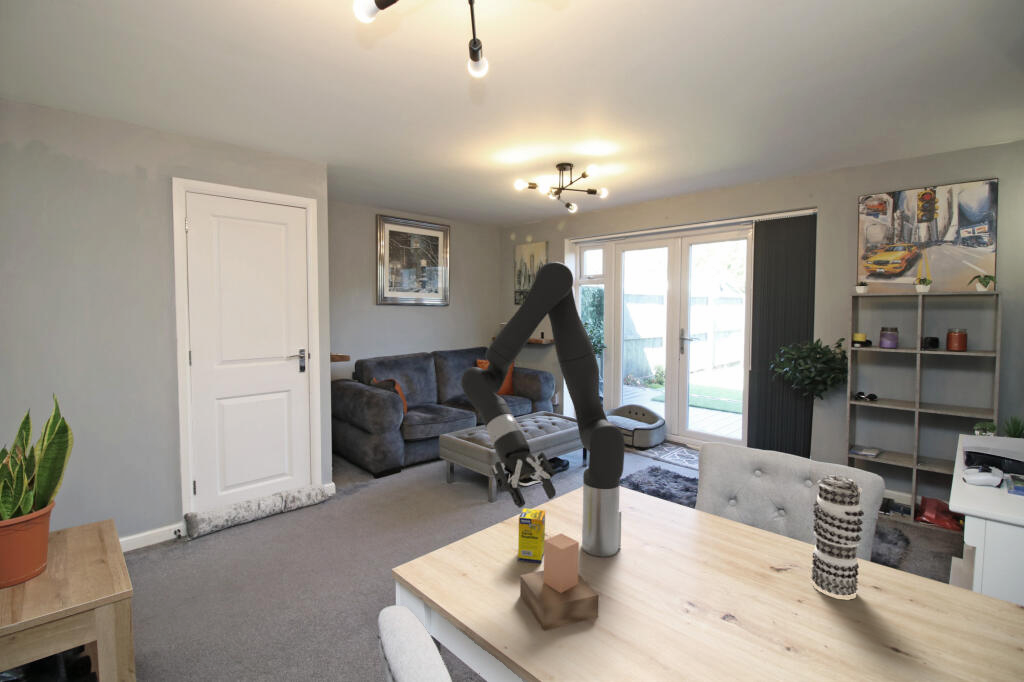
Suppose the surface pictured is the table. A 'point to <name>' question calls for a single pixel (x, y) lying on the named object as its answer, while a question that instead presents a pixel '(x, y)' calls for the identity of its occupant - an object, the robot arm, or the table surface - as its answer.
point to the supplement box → (531, 535)
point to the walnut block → (558, 601)
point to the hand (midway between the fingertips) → (537, 501)
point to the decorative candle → (837, 535)
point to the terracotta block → (561, 562)
